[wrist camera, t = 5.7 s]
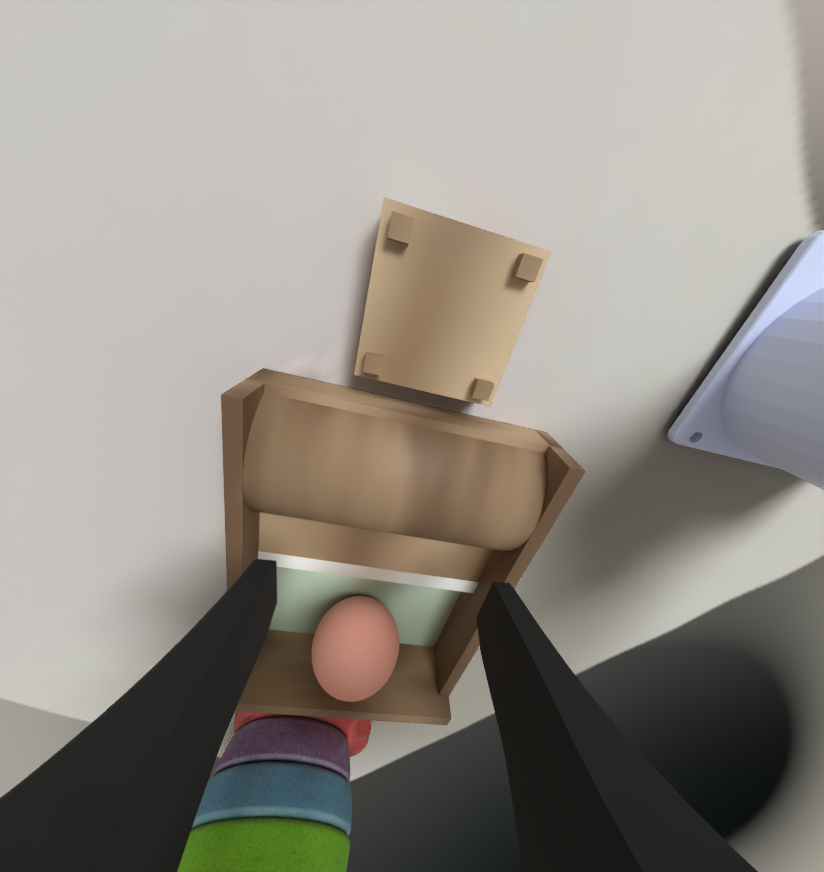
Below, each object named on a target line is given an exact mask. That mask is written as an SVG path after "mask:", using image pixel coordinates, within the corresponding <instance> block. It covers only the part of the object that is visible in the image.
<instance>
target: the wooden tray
mask: <svg viewBox="0 0 824 872" xmlns="http://www.w3.org/2000/svg"><path fill="white" fill-rule="evenodd" d="M221 406H222V438H223V469H224V501H225V533H226V564H227V591H228V590H229V589H230V587H231V586H232V585H233V584H234V583H235V582H236V581H237V579H238V578H239V577H240V576H241V575H242V573H243V572H244V571H245V570H246V569H247V568H248V566H249V565H250V564H251V563H252V561H254V560H255V559H263V560H274V561H276V566H277V605H276V608H275V611H274V614H273V617H272V621H271V624H270V627H269V630H268V633H267V636H266V639H265V641H264V644H263V646H262V648H261V651H260V653H259V655H258V658H257V660H256V663H255V665H254V667H253V670H252V672H251V674H250V677H249V679H248V681H247V684H246V686H245V688H244V691H243V693H242V695H241V698H240V700H239V702H238V705H237V707H236V709H235V711H243V712H258V713H273V714H288V715H303V716H318V717H333V718H348V719H362V720H377V721H392V722H407V723H422V724H437V725H447V724H448V723H449V721H450V720H451V713H450V705H449V695H450V693H451V691H452V690H453V688H454V686H455V685H456V683H457V682H458V680H459V678H460V677H461V675H462V673H463V672H464V670H465V668H466V667H467V665H468V663H469V662H470V660H471V659H472V657H473V655H474V654H475V652H476V650H477V649H478V647H479V645H480V642H479V635H478V627H477V619H476V618H477V615H478V613H479V611H480V609H481V607H482V605H483V602H484V600H485V598H486V596H487V594H488V591H489V589H490V587H491V585H492V583H493V581H494V582H505V583H510V584H511V585H512V587H513V588H515V586H516V585H517V583H518V581H519V580H520V578H521V576H522V575H523V573H524V572H525V570H526V568H527V567H528V565H529V563H530V562H531V560H532V558H533V557H534V555H535V553H536V552H537V550H538V549H539V547H540V545H541V544H542V542H543V540H544V539H545V537H546V535H547V534H548V532H549V530H550V529H551V527H552V526H553V524H554V522H555V521H556V519H557V517H558V516H559V514H560V512H561V511H562V509H563V507H564V506H565V504H566V503H567V501H568V499H569V498H570V496H571V494H572V493H573V491H574V489H575V488H576V486H577V484H578V483H579V481H580V480H581V478H582V476H583V475H584V473H585V470H584V469H583V468H582V467H581V466H580V465H579V464H578V463H577V462H576V461H575V460H574V459H573V458H572V457H571V456H570V455H569V454H568V453H567V452H566V451H565V450H564V449H563V448H562V447H561V446H560V445H559V444H558V443H557V442H556V441H555V440H554V439H553V438H552V437H551V436H550V435H549V434H548V433H547V432H542V431H538V430H534V429H529V428H525V427H520V426H516V425H512V424H507V423H503V422H498V421H494V420H490V419H485V418H481V417H476V416H472V415H467V414H463V413H459V412H454V411H450V410H445V409H441V408H437V407H432V406H428V405H423V404H419V403H414V402H410V401H406V400H401V399H397V398H392V397H388V396H384V395H379V394H375V393H370V392H366V391H362V390H357V389H353V388H348V387H344V386H339V385H335V384H331V383H326V382H322V381H317V380H313V379H309V378H304V377H300V376H295V375H291V374H286V373H282V372H278V371H273V370H269V369H264V368H263V369H261V370H260V371H258V372H257V373H255V374H253V375H252V376H250V377H249V378H247V379H245V380H244V381H242V382H241V383H239V384H237V385H236V386H234V387H233V388H231V389H229V390H228V391H226V392H225V393H223V394H222V395H221ZM354 596H366V597H370V598H373V599H375V600H377V601H379V602H381V603H382V604H383V605H384V606H385V607H386V608H387V609H388V610H389V611H390V613H391V614H392V616H393V618H394V620H395V622H396V625H397V628H398V633H399V654H398V659H397V662H396V665H395V668H394V670H393V673H392V674H391V676H390V678H389V679H388V681H387V682H386V683H385V685H384V686H383V687H382V688H381V689H380V690H379V691H377V692H376V693H375V694H373V695H372V696H370V697H368V698H366V699H363V700H360V701H354V702H348V701H342V700H338V699H336V698H334V697H333V696H331V695H329V694H328V693H327V692H326V691H325V690H324V689H323V688H322V687H321V685H320V684H319V682H318V680H317V678H316V676H315V673H314V670H313V665H312V656H311V652H312V643H313V638H314V635H315V632H316V630H317V627H318V625H319V623H320V621H321V620H322V618H323V617H324V615H325V614H326V613H327V612H328V611H329V610H330V609H331V608H332V607H333V606H334V605H336V604H337V603H338V602H340V601H342V600H344V599H347V598H349V597H354Z"/></svg>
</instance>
